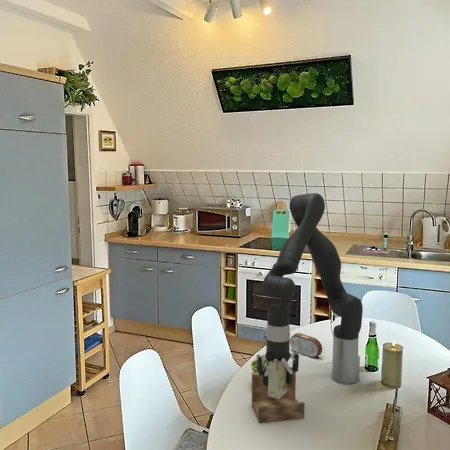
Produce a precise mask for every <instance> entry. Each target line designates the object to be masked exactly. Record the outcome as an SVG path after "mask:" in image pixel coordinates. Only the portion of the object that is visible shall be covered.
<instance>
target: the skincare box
mask: <svg viewBox="0 0 450 450" xmlns="http://www.w3.org/2000/svg"><path fill="white" fill-rule="evenodd" d="M271 363H272V361H270V362H268V367H269V365H270V364H271ZM286 392H287V369H286V367H285V365H284V364H283V362H282V361H277V362H273V363H272V370H271V371H269V374H268V396H269V397H272V398H276V399H280V398H281V397H282V396H283V395H284V394H285V393H286Z"/></svg>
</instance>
